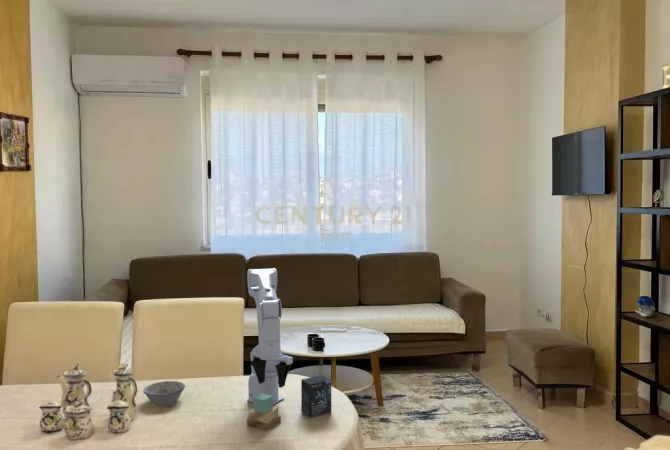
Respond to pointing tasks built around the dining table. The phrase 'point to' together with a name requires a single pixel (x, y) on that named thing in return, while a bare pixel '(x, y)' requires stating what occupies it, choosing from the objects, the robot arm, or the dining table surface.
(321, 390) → the box
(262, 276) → the robot arm
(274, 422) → the slab bottom
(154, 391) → the bowl
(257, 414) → the slab top
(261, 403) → the teal cube
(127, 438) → the dining table surface
